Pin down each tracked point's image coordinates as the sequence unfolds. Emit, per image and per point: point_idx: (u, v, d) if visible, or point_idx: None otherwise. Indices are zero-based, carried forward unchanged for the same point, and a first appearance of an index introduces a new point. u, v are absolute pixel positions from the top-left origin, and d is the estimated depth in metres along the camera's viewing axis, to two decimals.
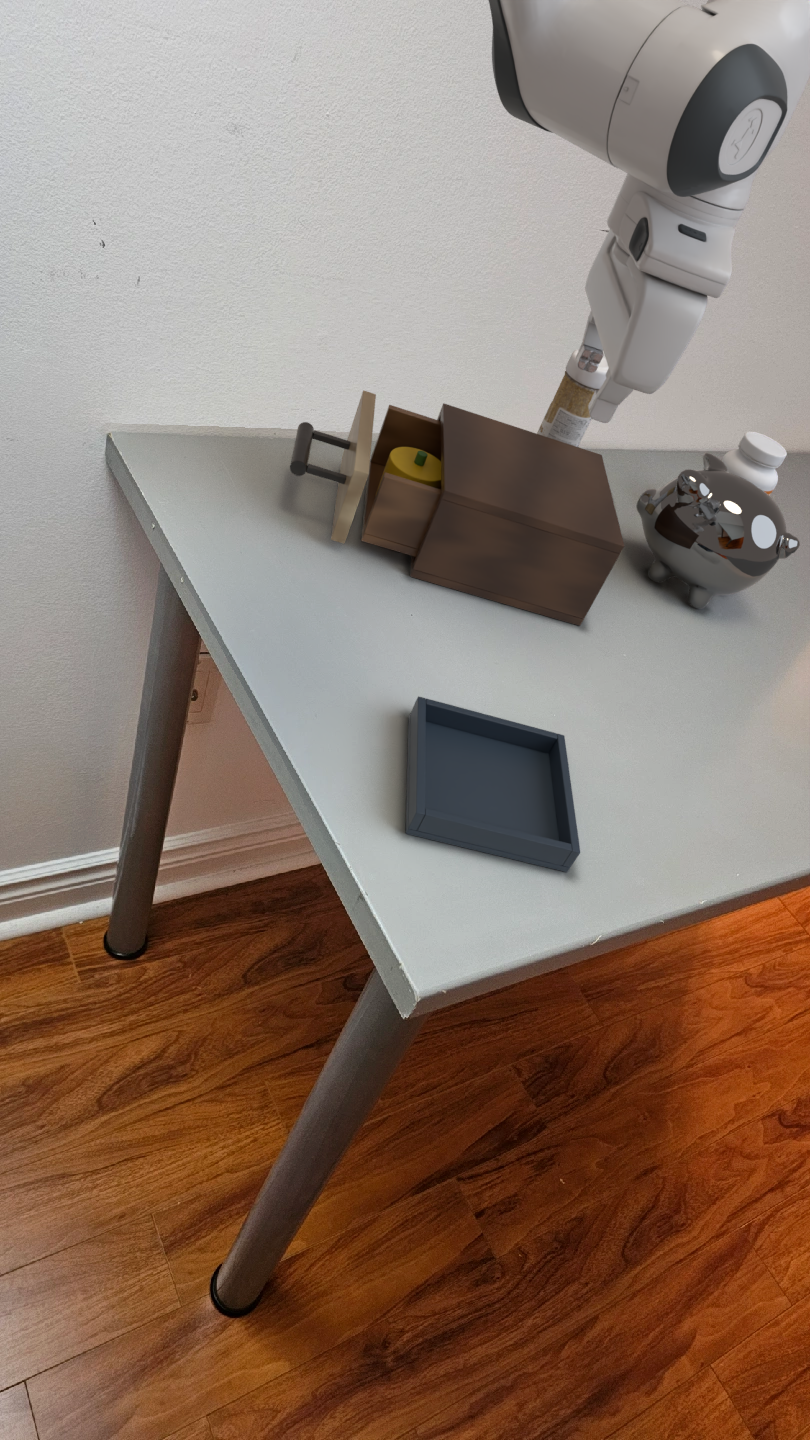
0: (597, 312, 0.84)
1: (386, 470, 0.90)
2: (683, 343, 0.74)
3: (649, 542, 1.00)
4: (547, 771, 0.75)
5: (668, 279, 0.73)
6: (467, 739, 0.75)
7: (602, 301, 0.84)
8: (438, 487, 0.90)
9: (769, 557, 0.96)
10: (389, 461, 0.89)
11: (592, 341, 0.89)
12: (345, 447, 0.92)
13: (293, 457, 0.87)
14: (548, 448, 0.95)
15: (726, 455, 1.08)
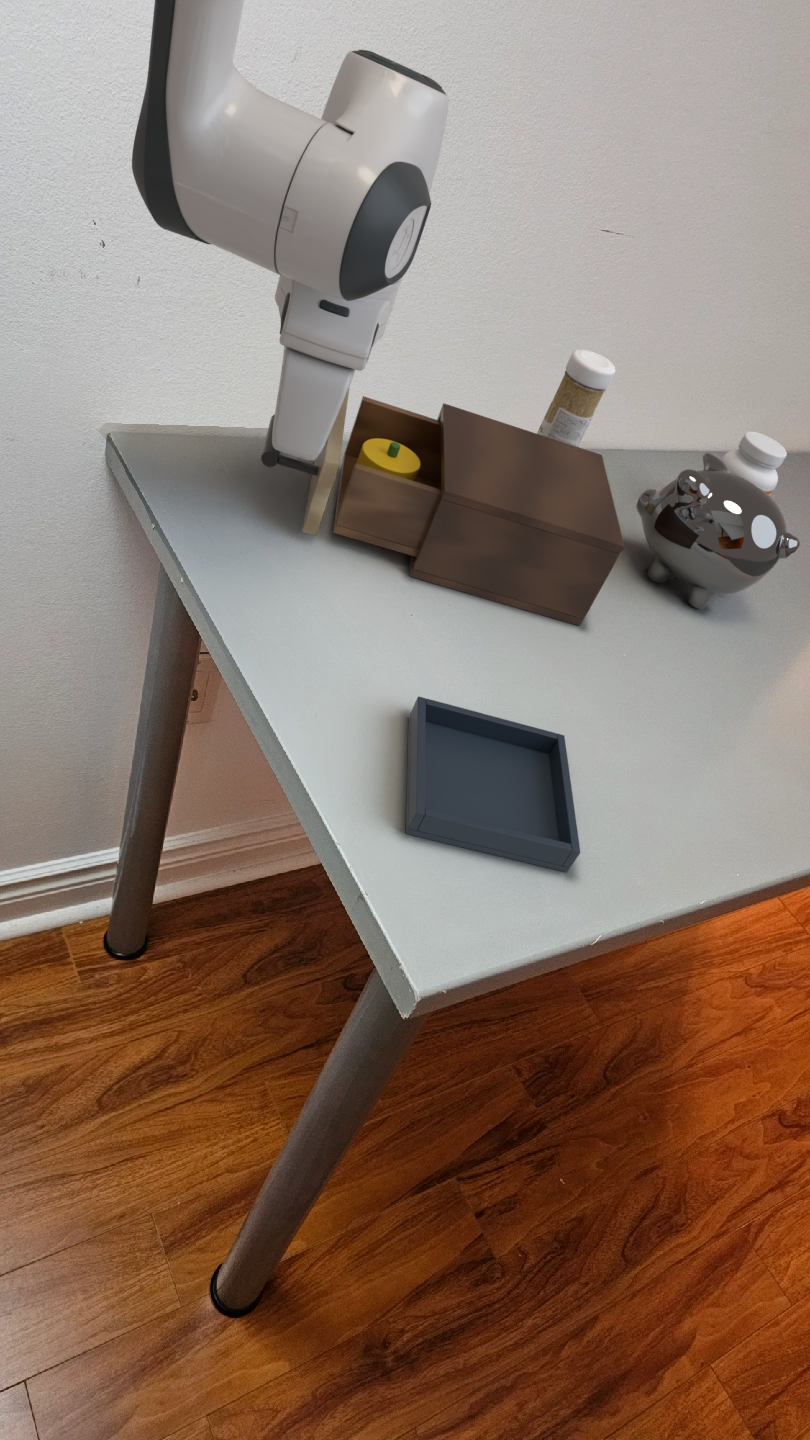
0: None
1: (359, 462, 0.89)
2: (330, 413, 0.77)
3: (649, 542, 1.00)
4: (547, 771, 0.75)
5: (308, 353, 0.75)
6: (467, 739, 0.75)
7: None
8: (411, 479, 0.89)
9: (769, 557, 0.96)
10: (362, 452, 0.89)
11: None
12: None
13: (264, 448, 0.87)
14: (548, 448, 0.95)
15: (726, 455, 1.08)
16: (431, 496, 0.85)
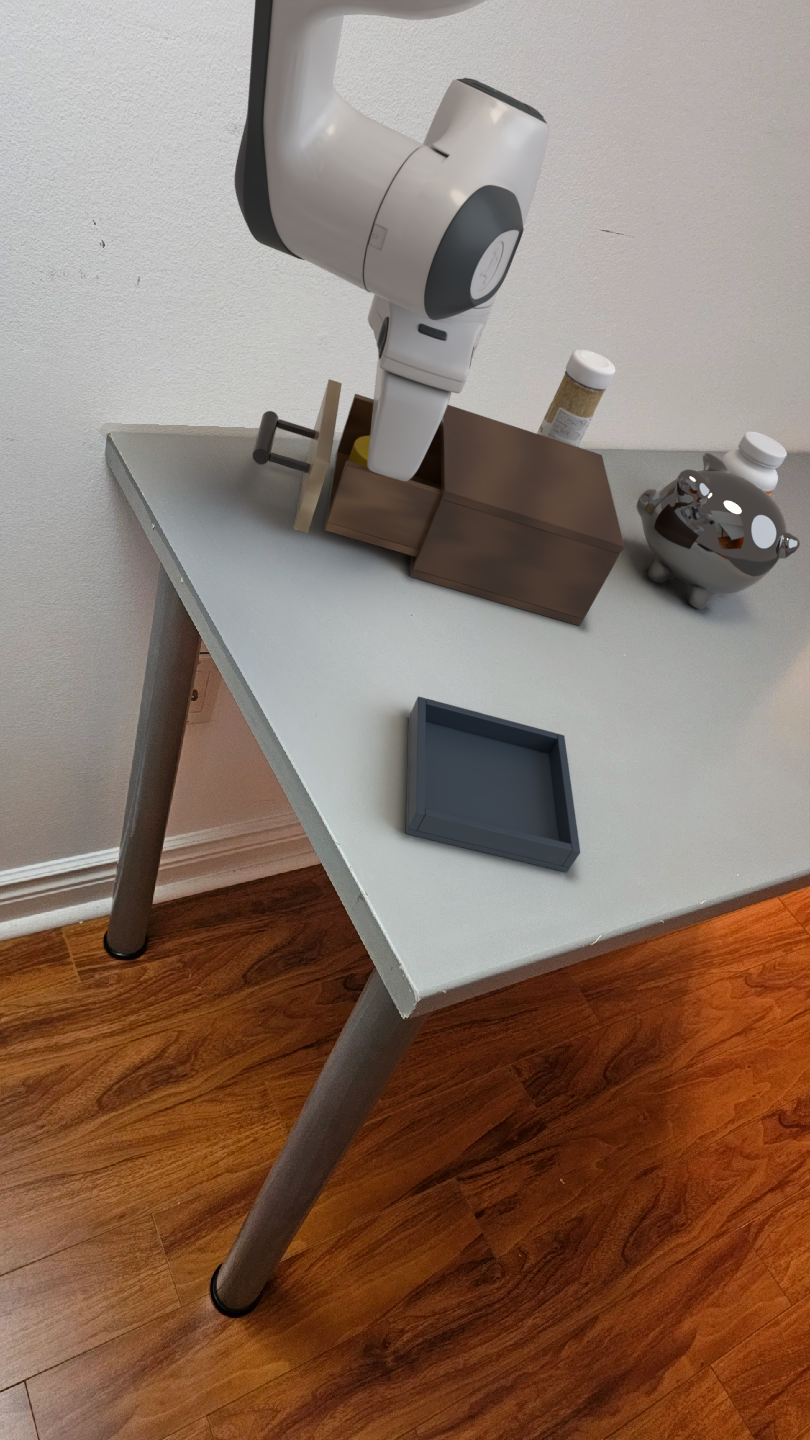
0: (374, 395, 0.88)
1: (350, 459, 0.89)
2: (427, 436, 0.78)
3: (649, 542, 1.00)
4: (547, 771, 0.75)
5: (407, 377, 0.76)
6: (467, 739, 0.75)
7: (378, 385, 0.87)
8: None
9: (769, 557, 0.96)
10: (353, 450, 0.89)
11: None
12: (310, 436, 0.92)
13: (256, 445, 0.86)
14: (548, 448, 0.95)
15: (726, 455, 1.08)
16: (422, 494, 0.85)
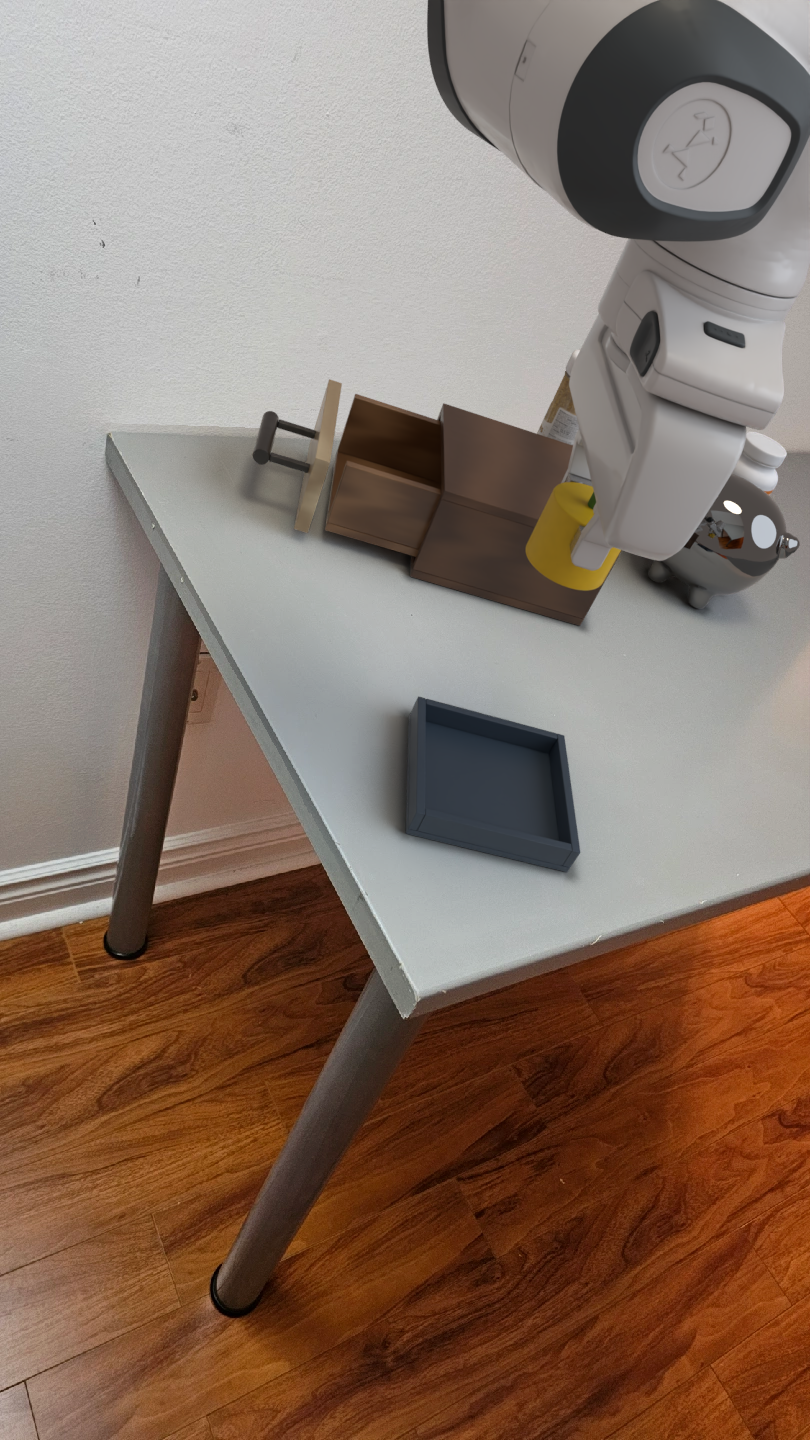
0: (585, 427, 0.60)
1: (547, 517, 0.62)
2: (710, 495, 0.50)
3: None
4: (547, 771, 0.75)
5: (689, 405, 0.49)
6: (467, 739, 0.75)
7: (592, 412, 0.60)
8: None
9: (769, 557, 0.96)
10: (553, 504, 0.61)
11: (581, 469, 0.64)
12: (310, 436, 0.92)
13: (256, 446, 0.86)
14: (548, 448, 0.95)
15: None
16: (422, 494, 0.85)
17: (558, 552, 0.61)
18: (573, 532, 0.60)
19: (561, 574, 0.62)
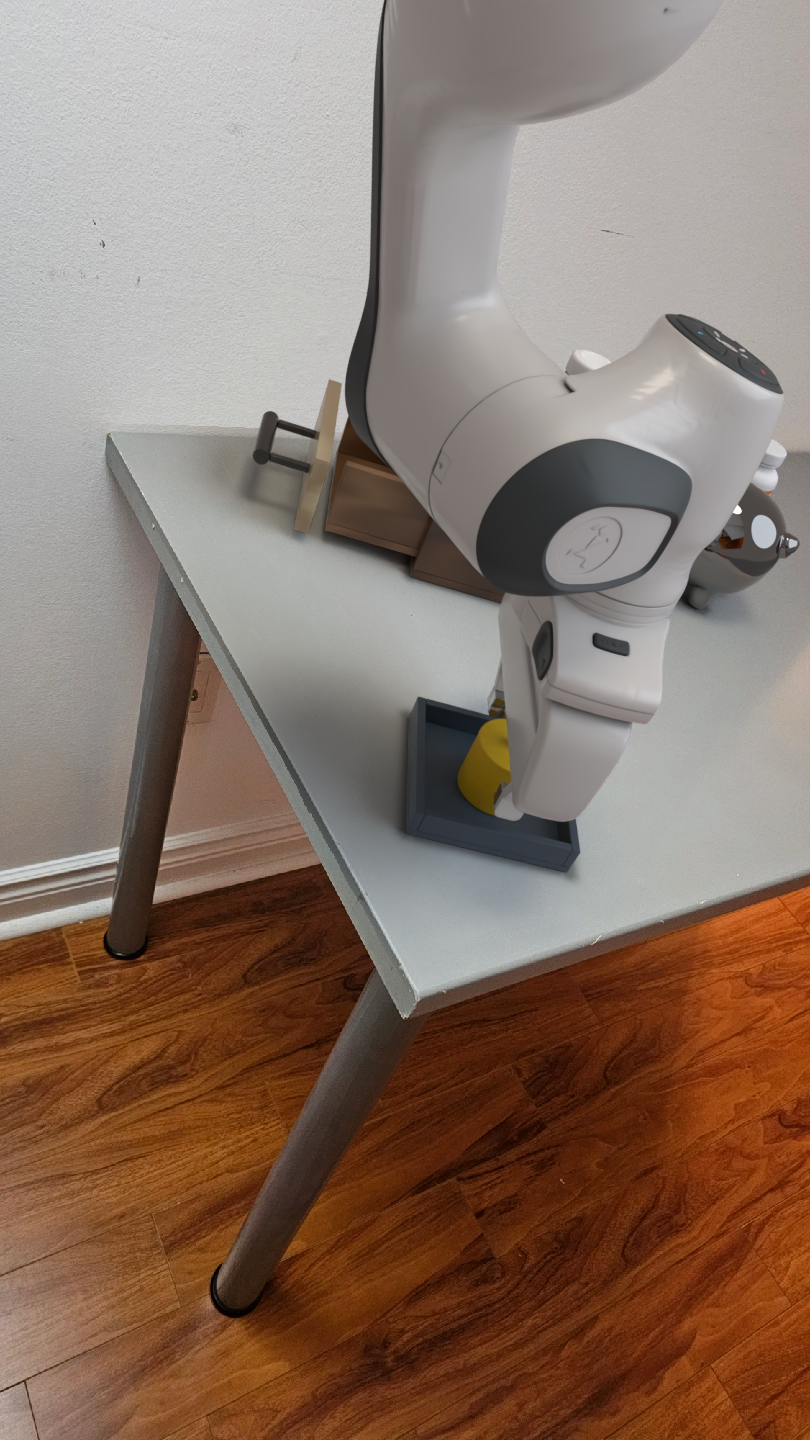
0: (506, 675, 0.68)
1: (474, 756, 0.69)
2: (601, 778, 0.58)
3: None
4: None
5: (579, 708, 0.56)
6: (467, 739, 0.75)
7: (511, 664, 0.67)
8: None
9: (769, 557, 0.96)
10: (478, 746, 0.69)
11: None
12: (310, 436, 0.92)
13: (256, 446, 0.86)
14: None
15: None
16: None
17: (483, 788, 0.69)
18: (496, 774, 0.68)
19: (487, 805, 0.70)
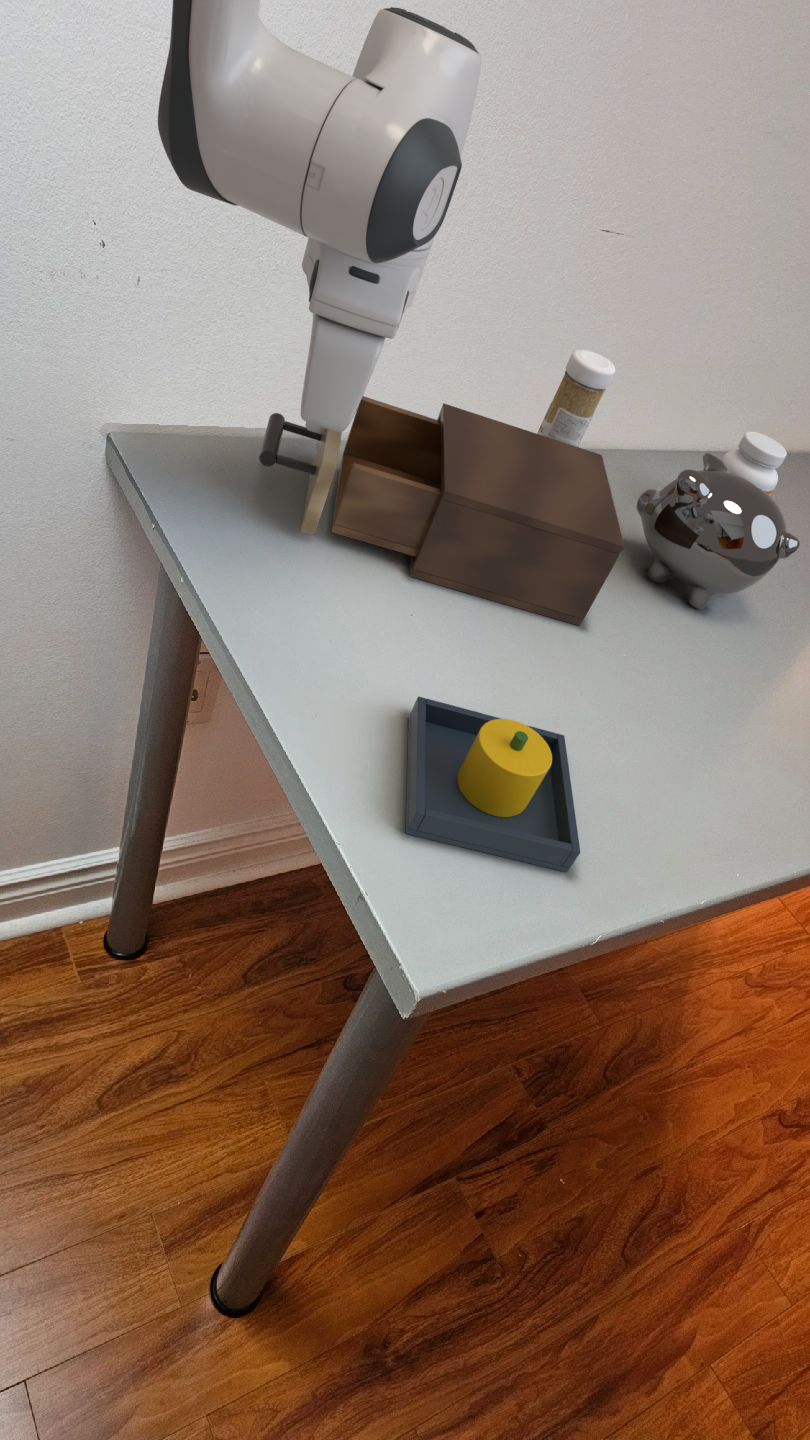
0: None
1: (474, 756, 0.69)
2: (361, 383, 0.75)
3: (649, 542, 1.00)
4: None
5: (338, 321, 0.74)
6: (467, 739, 0.75)
7: None
8: (541, 778, 0.69)
9: (769, 557, 0.96)
10: (478, 746, 0.69)
11: None
12: (317, 438, 0.92)
13: (263, 448, 0.87)
14: (548, 448, 0.95)
15: (726, 455, 1.08)
16: (429, 496, 0.85)
17: (483, 788, 0.69)
18: (496, 774, 0.68)
19: (487, 805, 0.70)
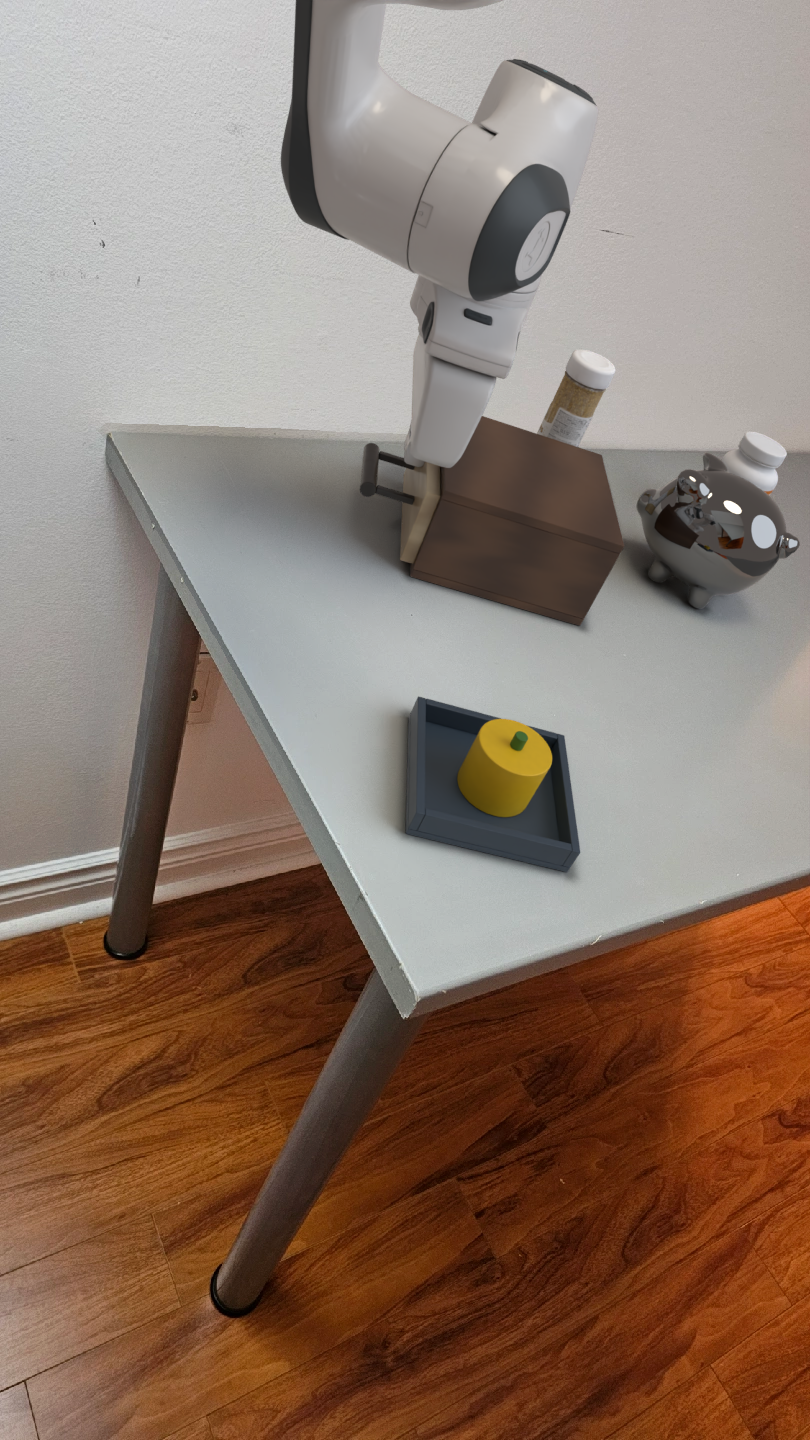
0: (413, 383, 0.87)
1: (474, 756, 0.69)
2: (472, 421, 0.77)
3: (649, 542, 1.00)
4: None
5: (453, 362, 0.76)
6: (467, 739, 0.75)
7: (417, 372, 0.87)
8: (541, 778, 0.69)
9: (769, 557, 0.96)
10: (478, 746, 0.69)
11: None
12: (410, 467, 0.93)
13: (363, 478, 0.88)
14: (548, 448, 0.95)
15: (726, 455, 1.08)
16: None
17: (483, 788, 0.69)
18: (496, 774, 0.68)
19: (487, 805, 0.70)
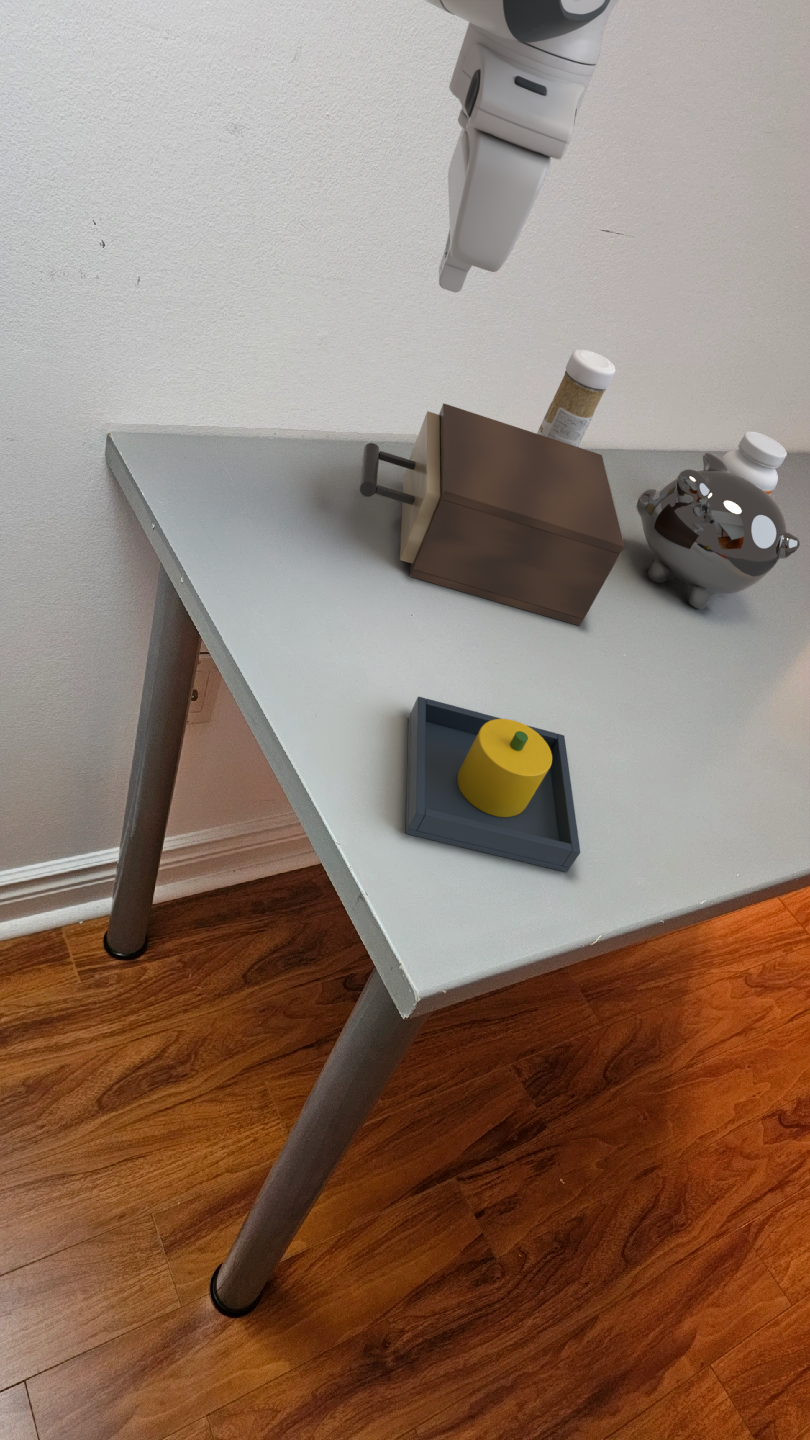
0: (450, 193, 0.77)
1: (474, 756, 0.69)
2: (523, 210, 0.67)
3: (649, 542, 1.00)
4: None
5: (502, 136, 0.66)
6: (467, 739, 0.75)
7: (455, 181, 0.77)
8: (541, 778, 0.69)
9: (769, 557, 0.96)
10: (478, 746, 0.69)
11: None
12: (410, 467, 0.93)
13: (363, 478, 0.88)
14: (548, 448, 0.95)
15: (726, 455, 1.08)
16: None
17: (483, 788, 0.69)
18: (496, 774, 0.68)
19: (487, 805, 0.70)
